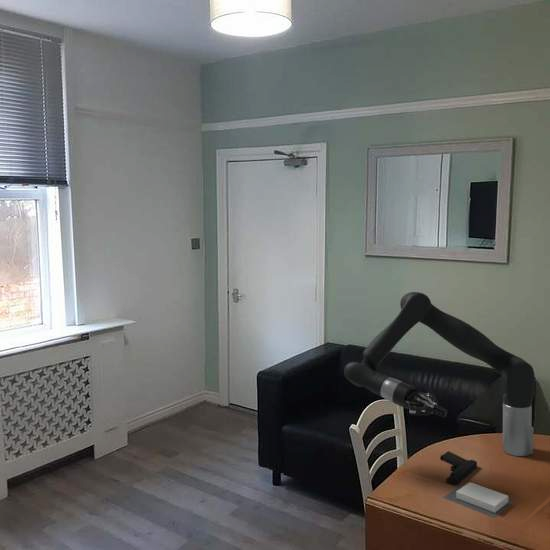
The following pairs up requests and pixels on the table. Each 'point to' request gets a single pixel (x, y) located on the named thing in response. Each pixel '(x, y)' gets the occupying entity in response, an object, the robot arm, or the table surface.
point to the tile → (482, 497)
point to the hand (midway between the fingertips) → (446, 413)
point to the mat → (452, 497)
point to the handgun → (458, 467)
